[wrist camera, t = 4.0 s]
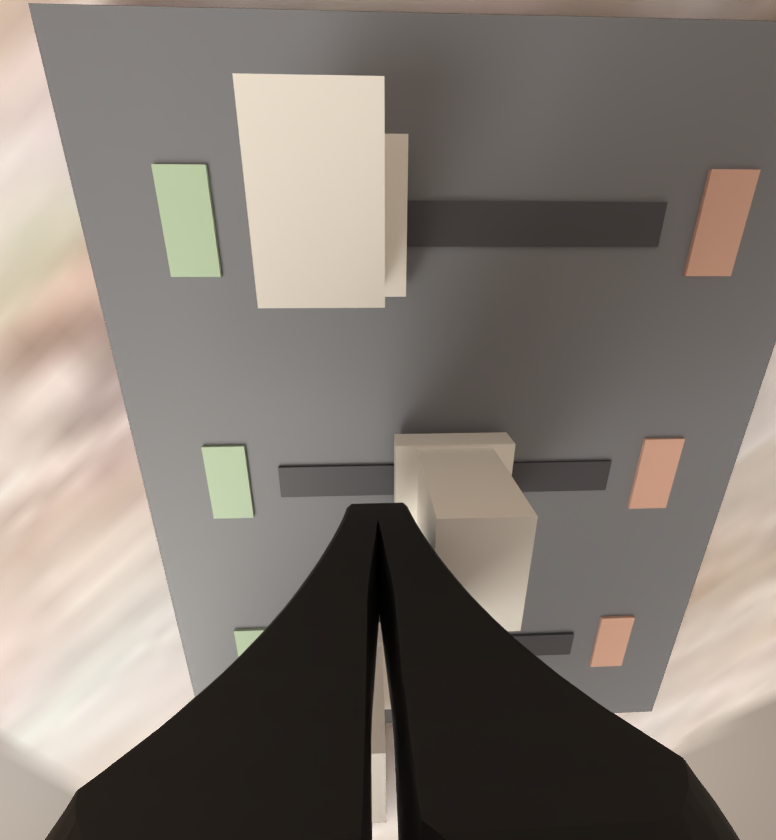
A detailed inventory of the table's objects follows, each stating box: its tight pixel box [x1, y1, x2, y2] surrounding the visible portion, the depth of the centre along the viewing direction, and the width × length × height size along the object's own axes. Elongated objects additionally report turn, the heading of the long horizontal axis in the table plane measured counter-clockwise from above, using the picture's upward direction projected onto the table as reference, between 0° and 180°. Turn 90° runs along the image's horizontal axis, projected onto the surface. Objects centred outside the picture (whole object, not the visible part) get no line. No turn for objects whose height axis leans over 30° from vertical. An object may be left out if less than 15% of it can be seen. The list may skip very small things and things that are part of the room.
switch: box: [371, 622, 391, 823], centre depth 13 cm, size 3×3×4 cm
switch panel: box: [28, 3, 776, 723], centre depth 14 cm, size 22×18×2 cm
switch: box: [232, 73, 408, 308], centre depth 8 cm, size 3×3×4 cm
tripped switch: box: [394, 432, 538, 631], centre depth 11 cm, size 3×3×4 cm
